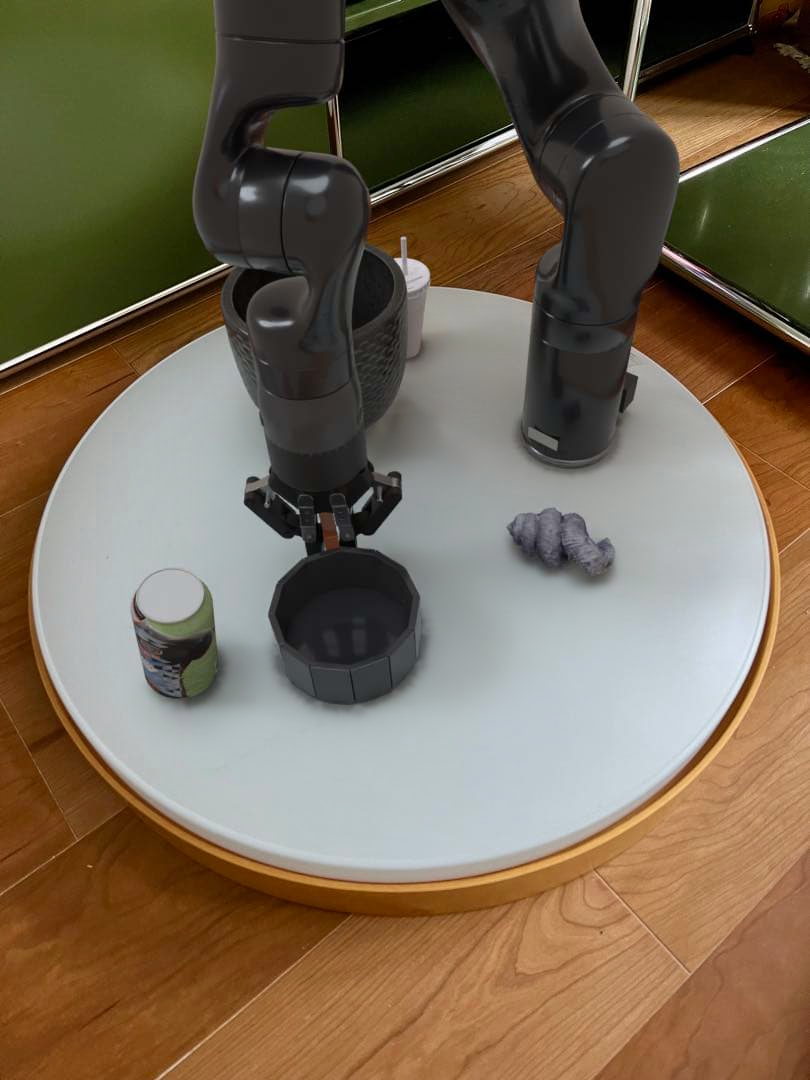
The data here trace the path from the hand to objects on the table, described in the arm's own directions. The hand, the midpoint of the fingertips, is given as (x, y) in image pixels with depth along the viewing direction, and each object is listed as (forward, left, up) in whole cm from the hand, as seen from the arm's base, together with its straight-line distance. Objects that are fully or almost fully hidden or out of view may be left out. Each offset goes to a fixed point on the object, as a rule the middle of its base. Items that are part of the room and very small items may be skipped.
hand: (333, 558), depth 80 cm
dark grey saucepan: (+4, +4, -2) cm, 6 cm away
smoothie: (-29, -13, -2) cm, 32 cm away
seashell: (-13, +16, -2) cm, 20 cm away
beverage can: (+15, -3, -2) cm, 16 cm away
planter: (-16, -13, -2) cm, 21 cm away
